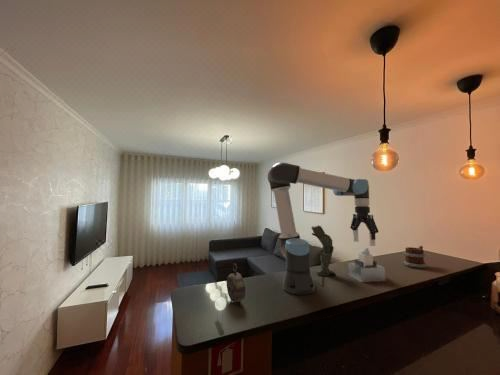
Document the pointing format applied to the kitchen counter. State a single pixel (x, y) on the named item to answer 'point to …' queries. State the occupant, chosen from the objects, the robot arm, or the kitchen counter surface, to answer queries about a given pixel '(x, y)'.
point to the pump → (366, 257)
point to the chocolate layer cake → (415, 258)
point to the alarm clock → (235, 287)
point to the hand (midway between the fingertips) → (363, 243)
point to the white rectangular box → (366, 271)
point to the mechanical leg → (324, 251)
